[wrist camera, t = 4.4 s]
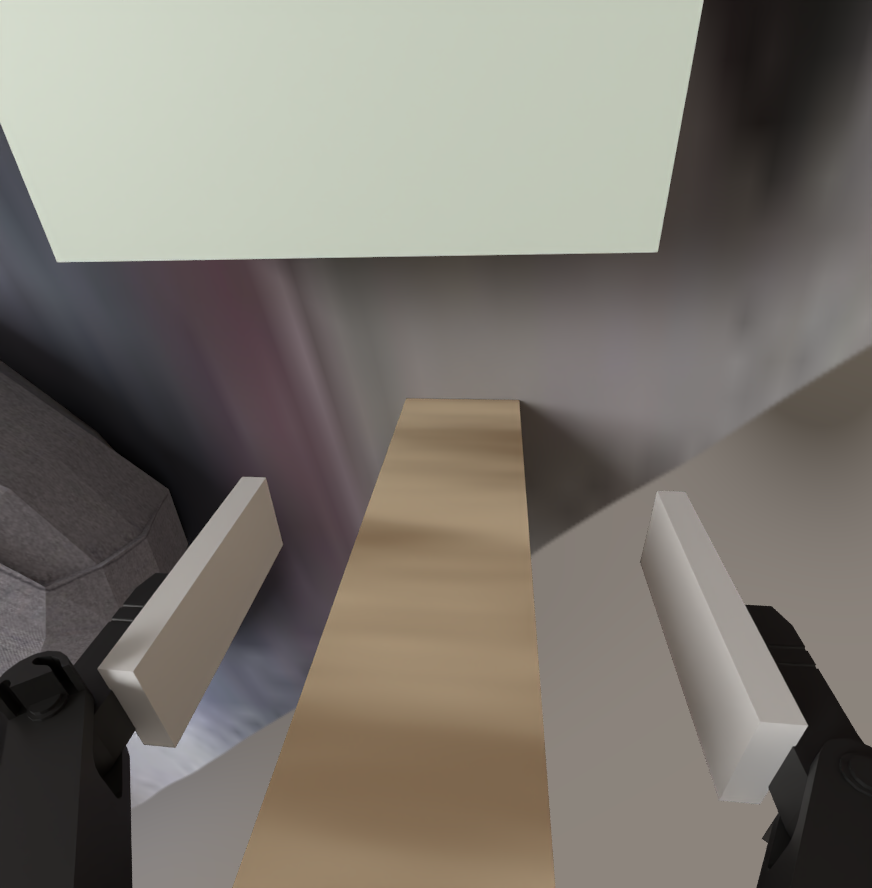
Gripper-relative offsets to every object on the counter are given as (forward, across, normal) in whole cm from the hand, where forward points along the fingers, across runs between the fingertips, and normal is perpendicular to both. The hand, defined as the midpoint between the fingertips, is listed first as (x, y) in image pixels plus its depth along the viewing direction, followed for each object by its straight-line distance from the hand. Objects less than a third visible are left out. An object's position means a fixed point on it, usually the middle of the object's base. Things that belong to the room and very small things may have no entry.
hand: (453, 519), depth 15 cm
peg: (+4, 0, 0) cm, 4 cm away
